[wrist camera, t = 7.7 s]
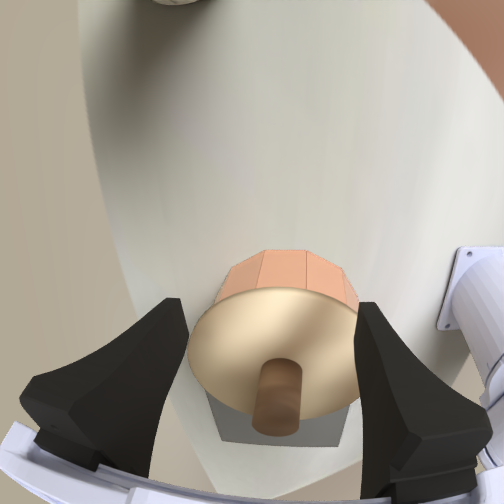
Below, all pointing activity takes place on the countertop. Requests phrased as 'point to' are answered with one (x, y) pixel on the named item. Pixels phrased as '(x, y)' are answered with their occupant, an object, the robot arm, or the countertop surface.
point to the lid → (277, 356)
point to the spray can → (174, 2)
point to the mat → (308, 435)
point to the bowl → (289, 275)
